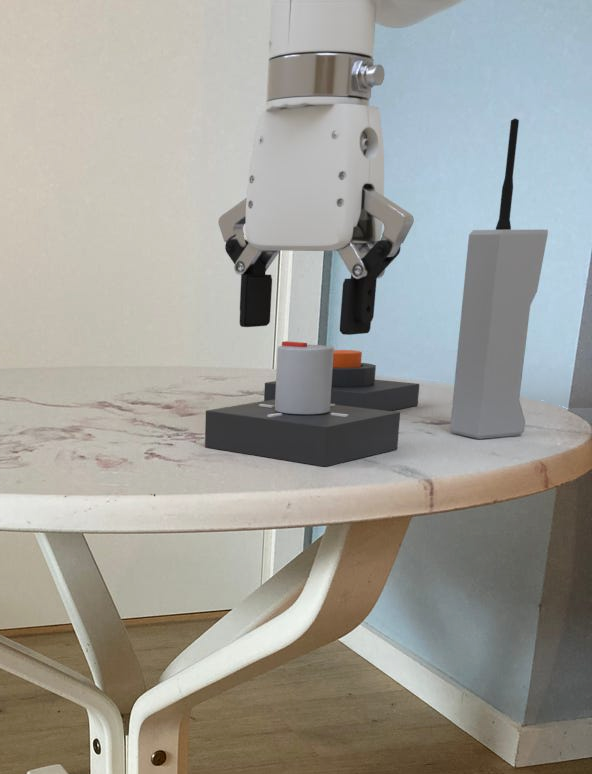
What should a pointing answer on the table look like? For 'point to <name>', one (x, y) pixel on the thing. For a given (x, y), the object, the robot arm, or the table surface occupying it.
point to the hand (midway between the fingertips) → (302, 329)
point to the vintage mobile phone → (496, 321)
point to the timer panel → (302, 432)
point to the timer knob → (303, 378)
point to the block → (364, 390)
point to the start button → (347, 358)
